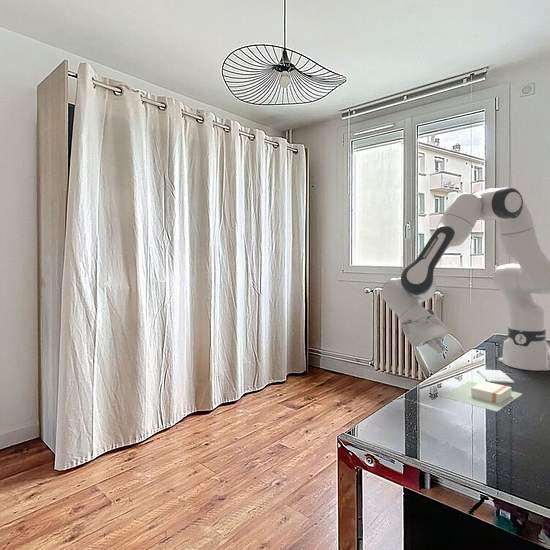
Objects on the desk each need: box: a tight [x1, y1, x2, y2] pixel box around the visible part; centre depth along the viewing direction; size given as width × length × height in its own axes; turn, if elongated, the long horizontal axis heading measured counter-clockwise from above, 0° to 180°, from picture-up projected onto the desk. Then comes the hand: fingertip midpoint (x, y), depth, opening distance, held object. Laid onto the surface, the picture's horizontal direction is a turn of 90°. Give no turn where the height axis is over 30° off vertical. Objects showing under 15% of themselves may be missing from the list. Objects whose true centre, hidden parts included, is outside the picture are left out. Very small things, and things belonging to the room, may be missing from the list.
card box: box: [471, 380, 513, 403], centre depth 118 cm, size 9×3×8 cm
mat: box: [440, 380, 523, 412], centre depth 120 cm, size 20×16×1 cm
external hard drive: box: [476, 369, 516, 384], centre depth 136 cm, size 2×8×12 cm
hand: (442, 351), depth 129 cm, fingers closed
